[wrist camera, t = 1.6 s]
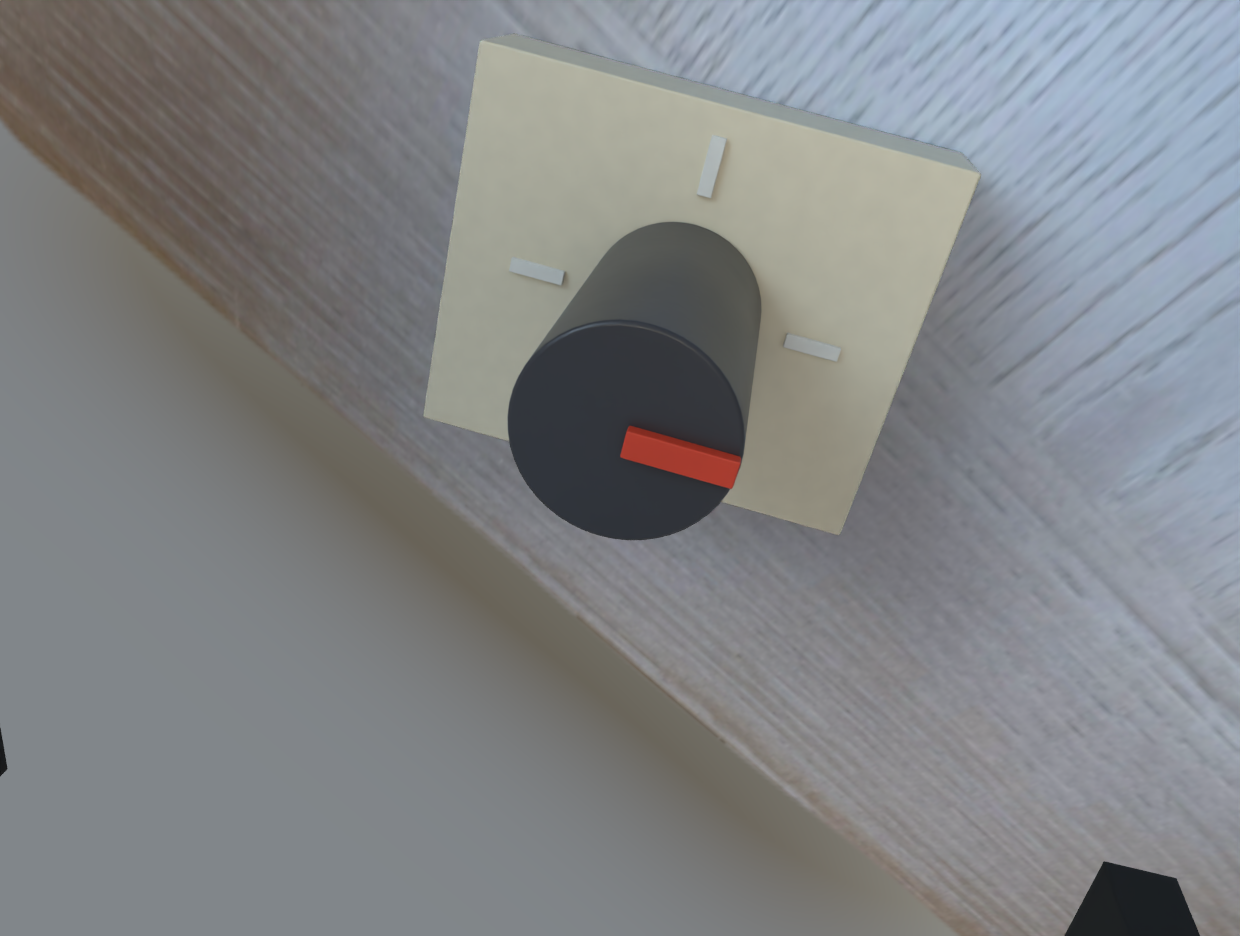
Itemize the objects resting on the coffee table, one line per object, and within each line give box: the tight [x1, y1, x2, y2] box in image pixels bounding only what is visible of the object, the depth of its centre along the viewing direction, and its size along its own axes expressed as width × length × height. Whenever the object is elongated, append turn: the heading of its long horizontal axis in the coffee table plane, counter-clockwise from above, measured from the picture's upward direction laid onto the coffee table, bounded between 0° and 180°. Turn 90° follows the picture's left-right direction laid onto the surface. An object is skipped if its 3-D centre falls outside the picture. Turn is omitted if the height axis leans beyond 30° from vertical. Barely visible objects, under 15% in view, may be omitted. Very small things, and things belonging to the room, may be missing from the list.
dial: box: [507, 222, 762, 540], centre depth 22 cm, size 4×4×8 cm
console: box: [423, 34, 981, 535], centre depth 27 cm, size 12×10×3 cm
